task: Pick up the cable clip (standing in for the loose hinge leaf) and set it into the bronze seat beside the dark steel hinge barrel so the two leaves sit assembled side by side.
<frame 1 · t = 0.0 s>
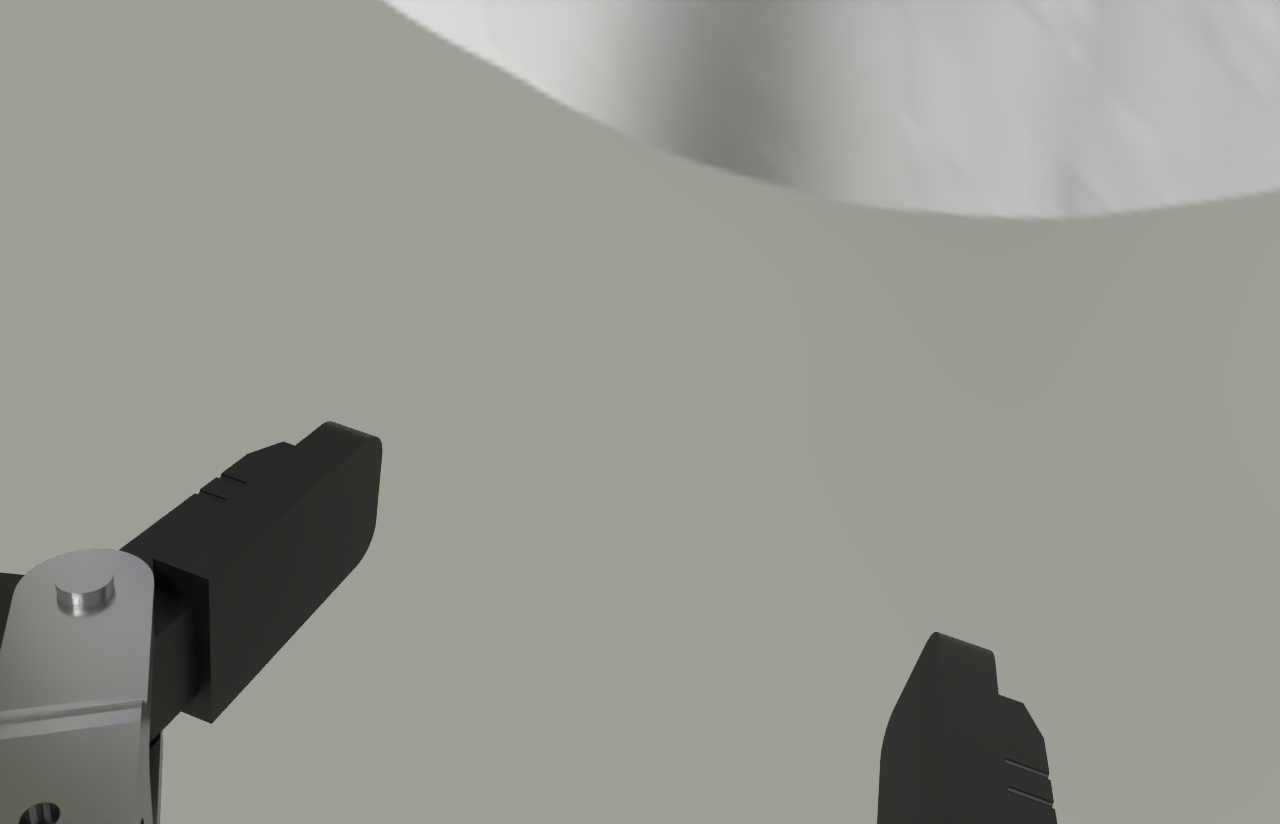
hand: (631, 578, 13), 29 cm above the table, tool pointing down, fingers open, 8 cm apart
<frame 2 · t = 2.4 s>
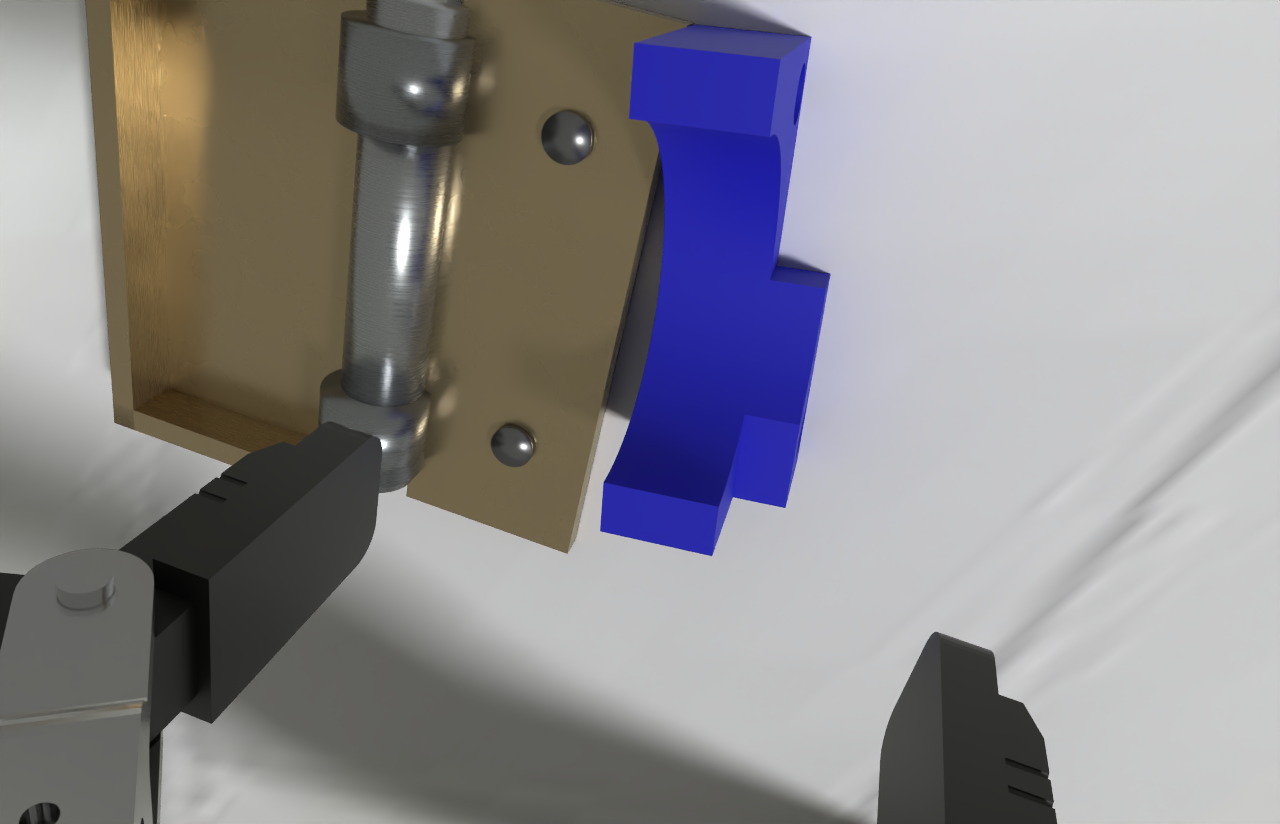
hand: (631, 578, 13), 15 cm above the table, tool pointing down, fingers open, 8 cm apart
hinge base: (414, 252, 29), on the table
cable clip: (752, 257, 27), on the table
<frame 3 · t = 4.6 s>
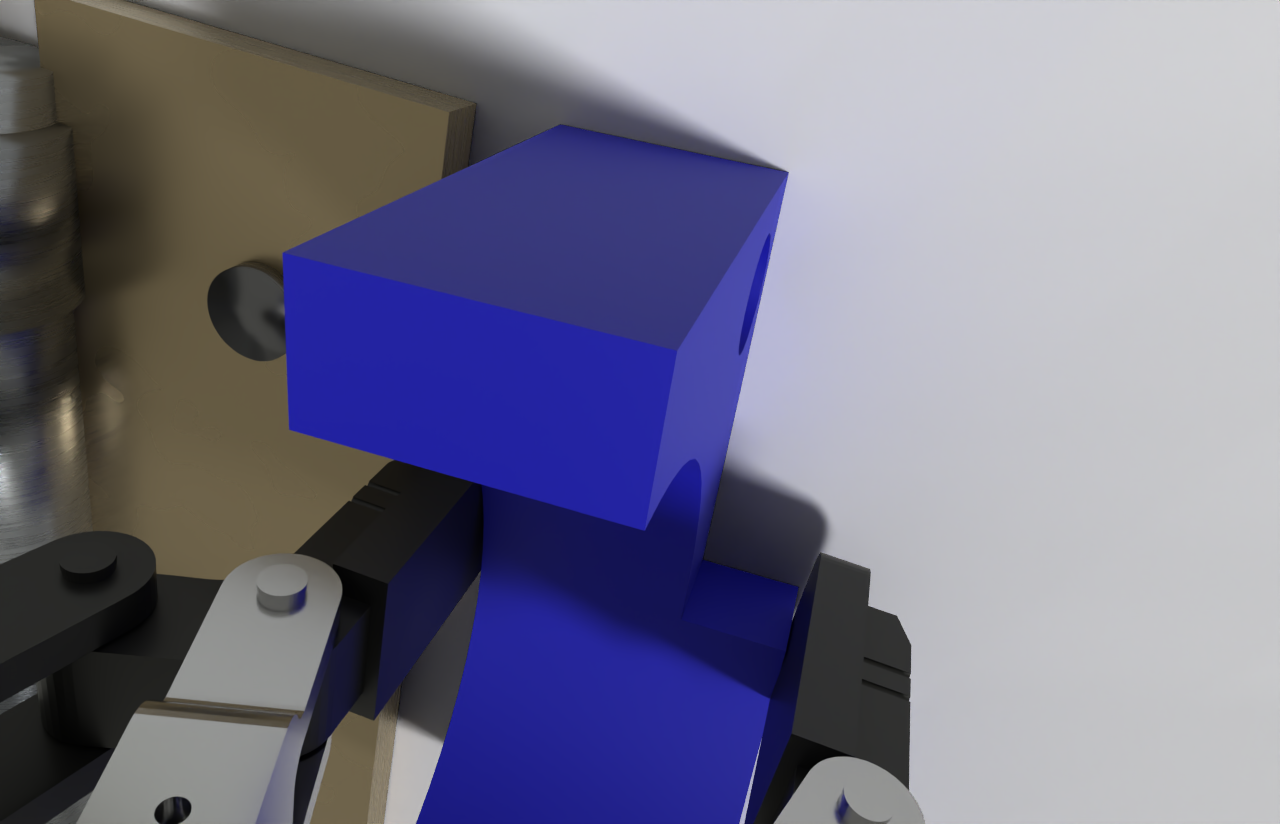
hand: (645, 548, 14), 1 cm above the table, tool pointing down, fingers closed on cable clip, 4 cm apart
hinge base: (68, 466, 17), on the table
cable clip: (659, 539, 15), on the table, touching gripper
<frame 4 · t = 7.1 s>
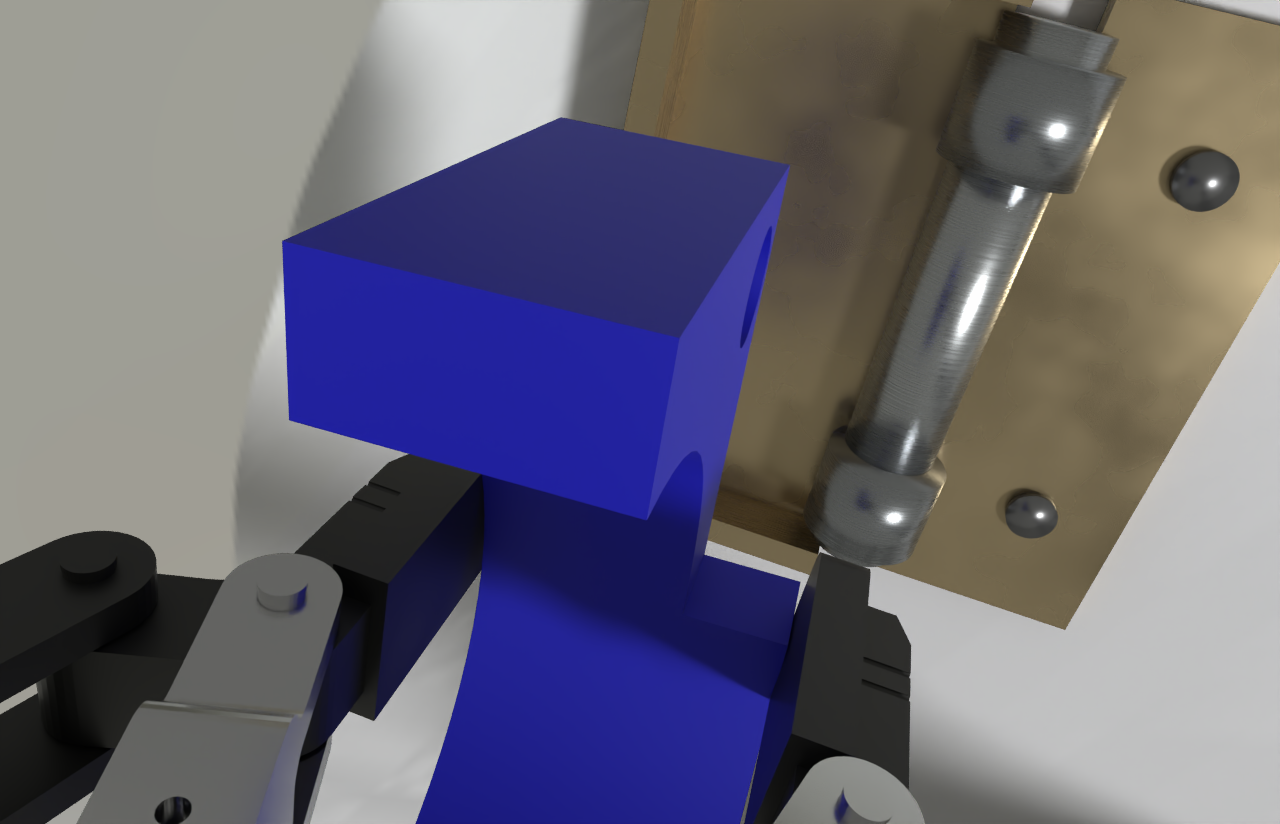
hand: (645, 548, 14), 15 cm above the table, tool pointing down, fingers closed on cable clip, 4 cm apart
hinge base: (940, 303, 26), on the table
cable clip: (660, 534, 15), point 14 cm above the table, touching gripper
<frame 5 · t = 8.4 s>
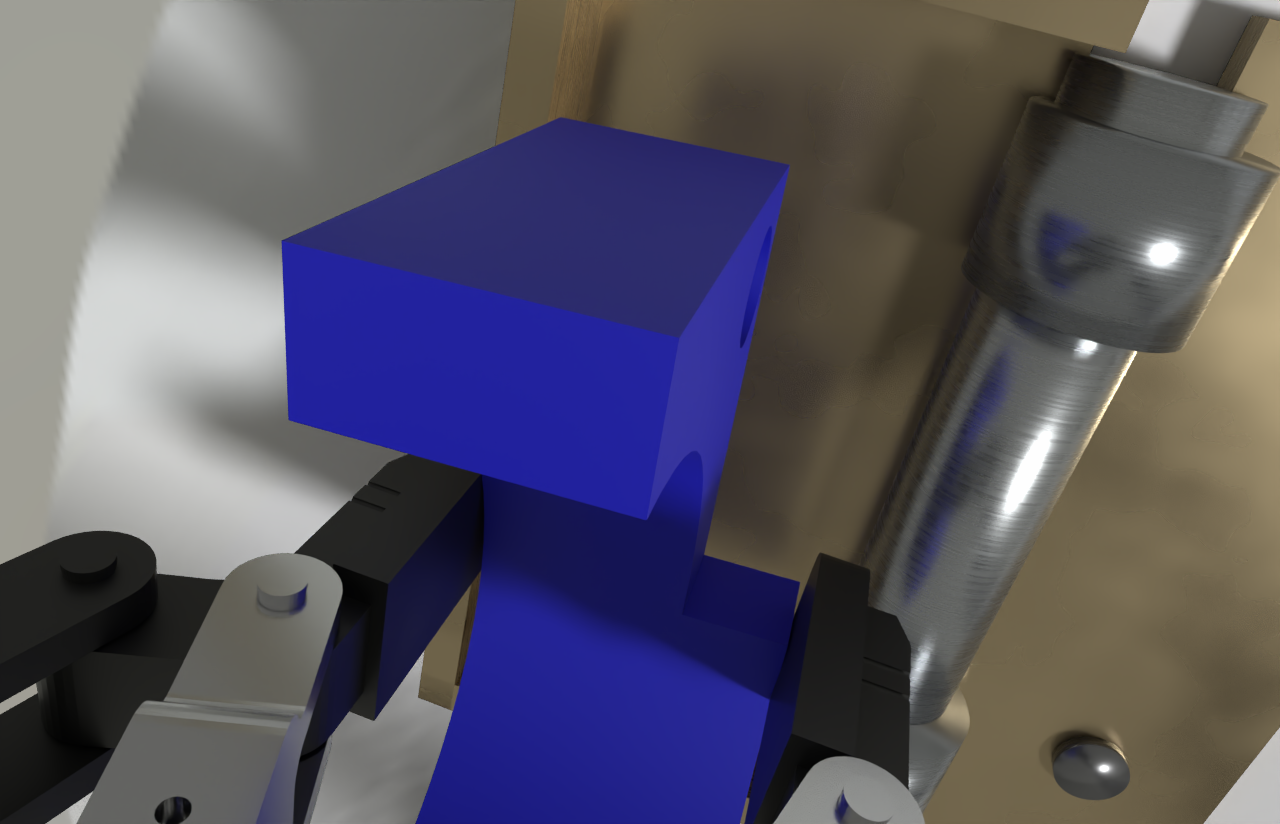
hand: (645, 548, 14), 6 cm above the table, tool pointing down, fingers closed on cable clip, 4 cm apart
hinge base: (962, 471, 18), on the table
cable clip: (660, 534, 15), point 5 cm above the table, touching gripper
when the fingers open (3 cm above the table, at t = 9.7 s): cable clip drops 1 cm, resting on hinge base.
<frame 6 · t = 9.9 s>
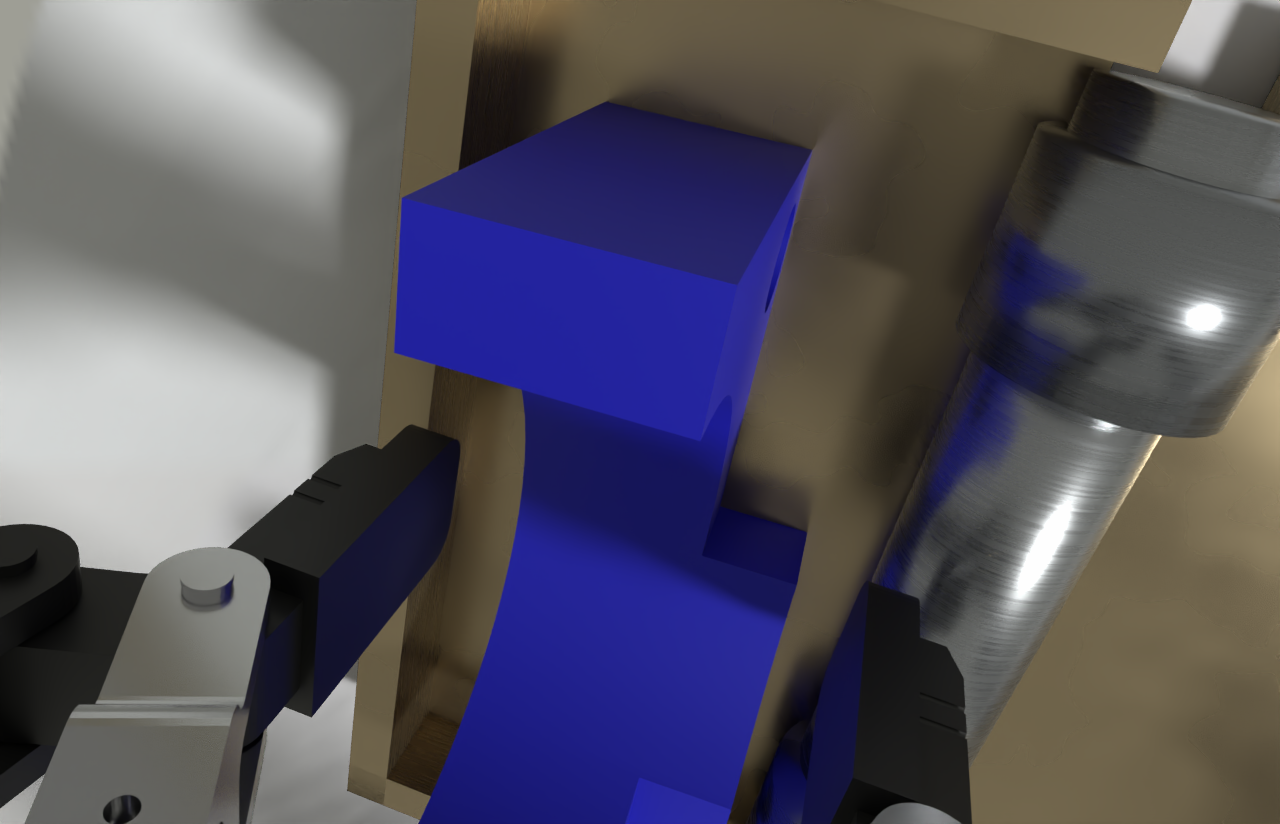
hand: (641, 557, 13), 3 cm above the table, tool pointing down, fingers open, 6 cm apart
hinge base: (958, 546, 15), on the table
cable clip: (680, 487, 16), resting on hinge base
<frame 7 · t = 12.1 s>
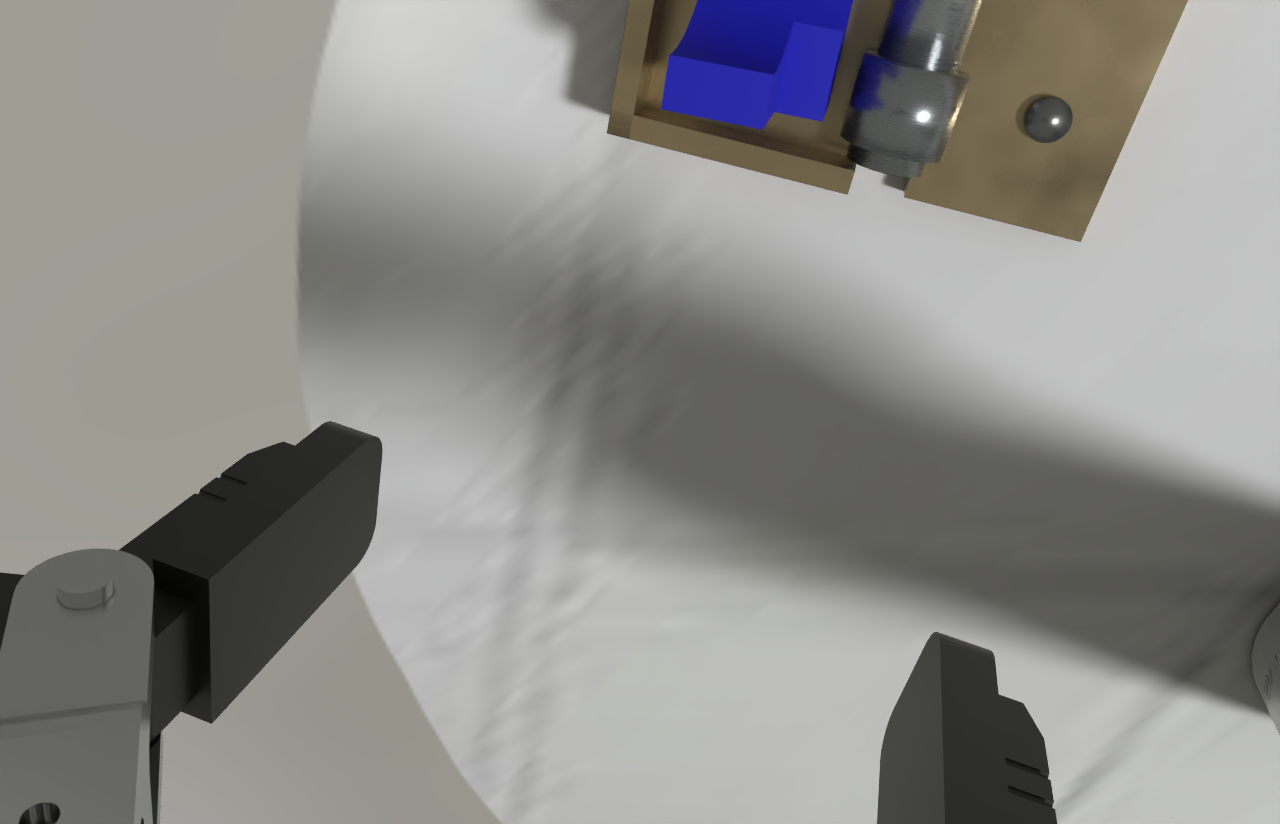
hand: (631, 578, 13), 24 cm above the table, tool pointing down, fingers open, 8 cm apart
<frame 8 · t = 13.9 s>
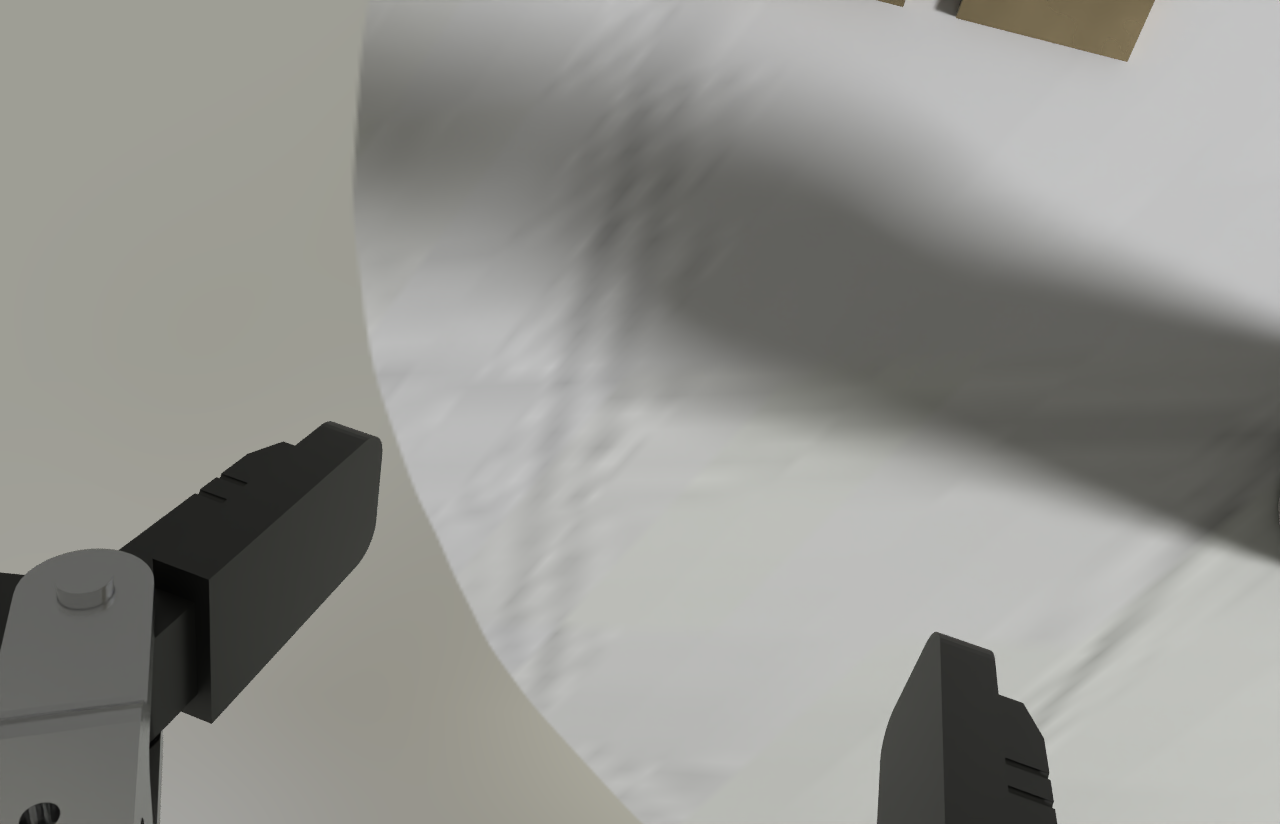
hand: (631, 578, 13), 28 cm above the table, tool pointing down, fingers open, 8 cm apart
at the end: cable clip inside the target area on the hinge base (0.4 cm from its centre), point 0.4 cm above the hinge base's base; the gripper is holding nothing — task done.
